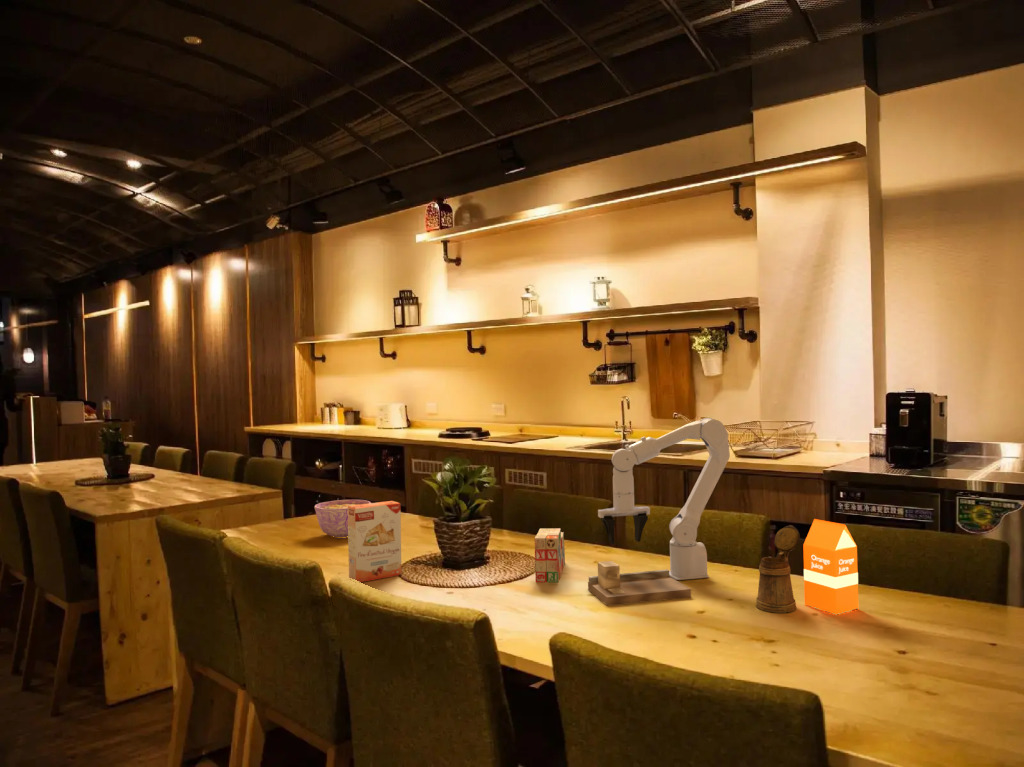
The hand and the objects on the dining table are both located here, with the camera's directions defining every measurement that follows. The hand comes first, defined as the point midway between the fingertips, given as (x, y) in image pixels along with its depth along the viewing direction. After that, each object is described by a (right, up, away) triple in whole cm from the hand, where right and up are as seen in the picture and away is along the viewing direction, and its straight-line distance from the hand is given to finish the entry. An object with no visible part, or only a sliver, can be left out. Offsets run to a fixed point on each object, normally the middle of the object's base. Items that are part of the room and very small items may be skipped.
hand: (624, 541), depth 200 cm
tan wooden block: (-6, -8, -16) cm, 19 cm away
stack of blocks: (-20, -10, +6) cm, 23 cm away
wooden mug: (+32, -9, -28) cm, 44 cm away
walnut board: (+1, -10, -16) cm, 19 cm away
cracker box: (-70, -12, +5) cm, 71 cm away
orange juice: (+43, -9, -31) cm, 54 cm away
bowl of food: (-92, -12, +63) cm, 112 cm away
